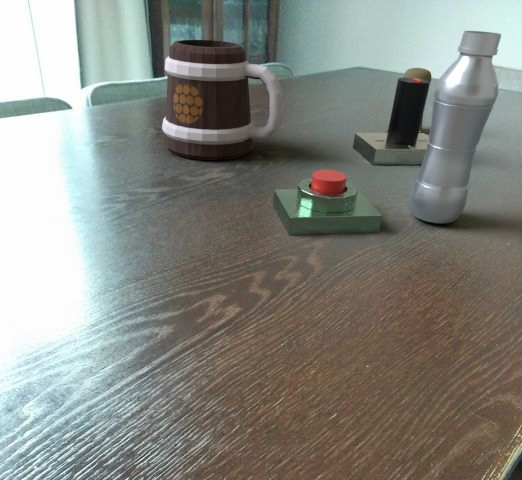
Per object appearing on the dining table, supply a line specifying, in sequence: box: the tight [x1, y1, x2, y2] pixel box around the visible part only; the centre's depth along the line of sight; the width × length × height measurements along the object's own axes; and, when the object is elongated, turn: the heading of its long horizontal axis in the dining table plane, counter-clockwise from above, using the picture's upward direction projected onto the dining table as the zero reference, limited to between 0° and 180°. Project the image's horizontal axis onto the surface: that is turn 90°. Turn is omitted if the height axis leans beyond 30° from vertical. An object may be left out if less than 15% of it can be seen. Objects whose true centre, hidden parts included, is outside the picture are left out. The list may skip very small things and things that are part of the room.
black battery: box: [386, 77, 431, 144], centre depth 80 cm, size 5×5×9 cm
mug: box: [161, 39, 284, 161], centre depth 77 cm, size 20×15×15 cm
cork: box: [402, 67, 432, 133], centre depth 96 cm, size 6×6×11 cm
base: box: [352, 132, 429, 166], centre depth 84 cm, size 13×10×3 cm
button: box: [311, 169, 348, 194], centre depth 58 cm, size 4×4×2 cm
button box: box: [272, 177, 383, 236], centre depth 60 cm, size 11×9×4 cm
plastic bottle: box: [409, 30, 502, 224], centre depth 56 cm, size 6×7×20 cm
